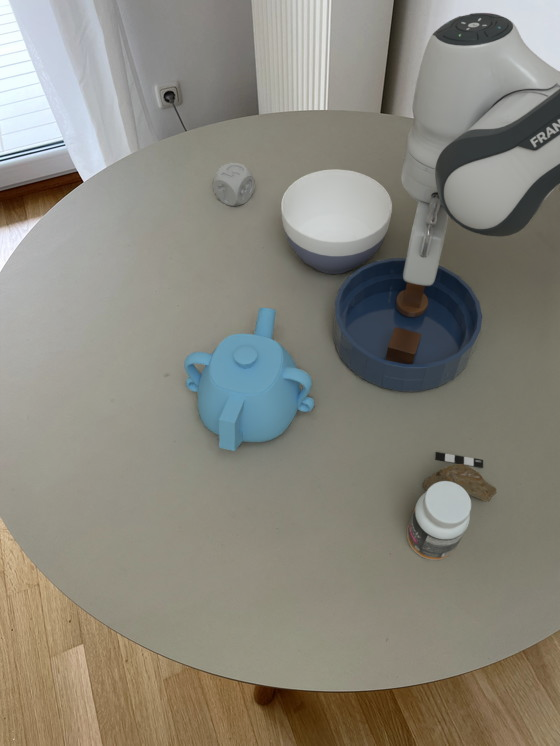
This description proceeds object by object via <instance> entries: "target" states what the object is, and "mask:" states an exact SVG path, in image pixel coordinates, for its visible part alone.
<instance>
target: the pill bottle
mask: <svg viewBox="0 0 560 746" xmlns="http://www.w3.org/2000/svg"><path fill="white" fill-rule="evenodd" d="M471 510H472V500H471V498H470V495H469V494H468V493H467V492H466V491H465V490H464V489H463V488H462V487H461V486H460V485H458V484H456V483H453V482H449V481H440V482H437V483H435V484H433V485H432V486H431V487H429V489H428V490H426V491H425V492H424V493H423V494H422V495H421V496H420V497H419V498H418V499H417V501H416V504H415V506H414V509H413V512H412V514H411V517H410V520H409V522H408V525H407V528H406V538H407V542H408V544H409V546H410V547H411V549H412V550H413V552H415V553H416V554H417V555H418V556H419V557H421V558H424V559H426V560H430V561H440V560H444V559H446V558H448V557H450V556H451V555H452V553H454V551H456V548H457V547H458V545H459V543H460V541H461V539H462V538H463V536H464V534H465V532H466V530H467V529H468V527H469V524H470V520H471Z"/></svg>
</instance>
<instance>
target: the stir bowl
mask: <svg viewBox="0 0 560 746" xmlns="http://www.w3.org/2000/svg"><path fill="white" fill-rule="evenodd" d="M405 261H406V257H391V258H386V259H380V260H376V261H372V262H371V263H368V264H365V265H363V266H360V267H359V268H358V269H357V270H356V271H354V272H353V273H351V274H350V275H349V276H348V277H347V278H346V279H345V280H344V282H343V284H342V285H341V286H340V288H339V289H338V292H337V295H336V298H335V301H334V311H333V326H332V327H333V328H332V329H333V342H334V345H335V348H336V350H337V353H338V356H339V358H341V360H342V361H343V362H344V363H345V365H346V366H347V367H348V369H349V370H351V371H352V372H354V373H355V374H356V375H358V376H359V377H360V378H361V379H362V380H364V381H367V382H369V383H371V384H373V385H376V386H378V387H379V388H383V389H388V390H391V391H396V392H422V391H423V392H424V391H427V390H431V389H432V390H433V389H435V388H439V387H441V386H442V385H445V384H447V383H450V381H453V380H454V379H455V378H456V377H457V376H459V375H460V373H461V372H463V371H464V370H465V369H466V367H467V366H468V364H469V362H470V360H471V358H472V355H473V353H474V350H475V348H476V345H477V342H478V339H479V337H480V334H481V331H482V324H483V312H482V308H481V302H480V300H479V299H478V297H477V296H476V294H475V292H474V290H473V288H472V287H471V286H470V285H469V284H468V283H467V282H466V281H465V280H464V279H463V278H462V277H460V275H458V274H456V273H455V272H454V271H452V270H450V269H449V268H446V267H444V266H442V265H440V264H439V266H438V270H437V274H436V278H435V281H434V283H433V284H432V285H431V286H425V288H424V292H423V293H424V294H425V295H426V296H427V298H428V306H427V309H426V311H425V312H424V313H423V314H422V315H420V316H417V317H408V316H405V315H403V314H401V313H400V312H399V311H398V309H397V307H396V299H397V296H398V294H399V293H400V292H401V291H403V290H406V285H407V282H406V281H404V279H403V272H404V266H405ZM395 327H398V328H401V329H405V330H409V331H412V332H416V333H420V334H422V335H421V339H420V343H419V347H418V351H417V354H416V357H415V360H414V363H413V364H402V363H397V362H392V361H387V360H386V354H387V349H388V345H389V342H390V340H391V337H392V334H393V331H394V329H395Z"/></svg>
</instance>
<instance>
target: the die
mask: <svg viewBox="0 0 560 746" xmlns="http://www.w3.org/2000/svg"><path fill="white" fill-rule="evenodd" d="M255 183H256V181H255V177H254V175H253V173H252V172H251V170H250V169H249V168H248V167H247V166H246V165H244V164H242V163H240V162H228V163H226V164H223V165H222V166H220V167H219V168H218V169H217V171H216V173H215V174H214V177H213V182H212V189H213V192H214V194H215V196H216V197H217V199H218V200H219V201H220V202H222V203H223V204H225V205H227V206H230V207H237V206H239V207H240V206H242V205H244V204H246V203H247V202H248V201H249V200H250V199H251V197H252V195H253V193H254V190H255Z"/></svg>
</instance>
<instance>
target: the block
mask: <svg viewBox="0 0 560 746" xmlns="http://www.w3.org/2000/svg"><path fill="white" fill-rule="evenodd" d="M421 335H422V334H420V333H416V332H412V331H409V330H405V329H401V328H398V327H395V329H394V331H393V334H392V337H391V340H390V342H389V345H388V349H387V354H386V360H387V361H392V362H397V363H402V364H413V363H414V360H415V357H416V354H417V351H418V347H419V343H420V339H421Z"/></svg>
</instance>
